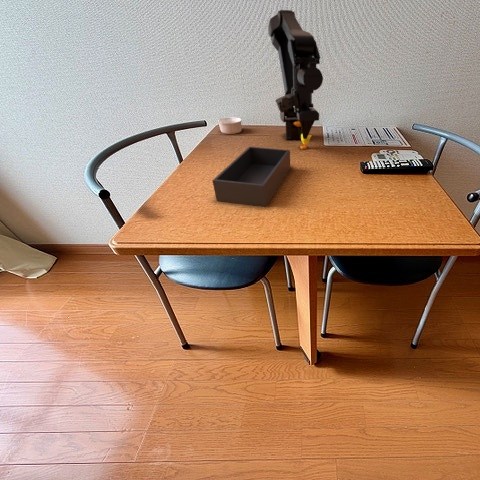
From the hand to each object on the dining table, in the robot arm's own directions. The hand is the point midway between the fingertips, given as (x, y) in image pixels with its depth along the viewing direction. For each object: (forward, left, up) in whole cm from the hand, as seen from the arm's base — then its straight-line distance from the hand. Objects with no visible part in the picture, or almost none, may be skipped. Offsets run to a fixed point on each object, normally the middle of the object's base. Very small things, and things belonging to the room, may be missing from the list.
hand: (303, 136), depth 97 cm
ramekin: (-24, -24, -4) cm, 34 cm away
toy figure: (0, 0, -4) cm, 4 cm away
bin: (+23, -18, -4) cm, 30 cm away
